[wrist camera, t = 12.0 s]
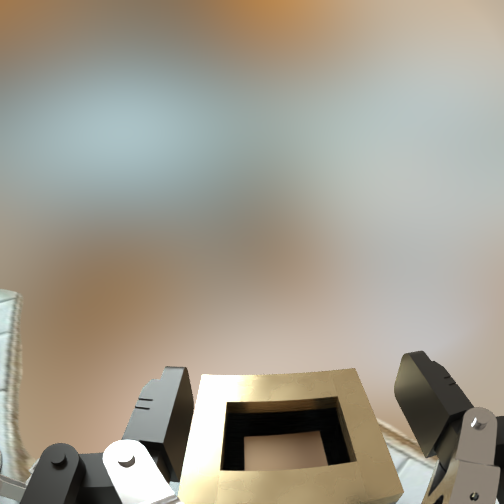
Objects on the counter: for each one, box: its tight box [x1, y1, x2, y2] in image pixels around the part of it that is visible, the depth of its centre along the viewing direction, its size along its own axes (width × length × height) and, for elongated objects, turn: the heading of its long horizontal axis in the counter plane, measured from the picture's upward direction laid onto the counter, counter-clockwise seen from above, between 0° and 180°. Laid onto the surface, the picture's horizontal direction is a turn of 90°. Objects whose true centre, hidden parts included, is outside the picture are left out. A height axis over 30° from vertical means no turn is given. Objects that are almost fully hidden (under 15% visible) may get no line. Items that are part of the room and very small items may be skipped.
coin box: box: [178, 368, 404, 504], centre depth 16 cm, size 10×10×12 cm
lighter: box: [0, 458, 40, 501], centre depth 14 cm, size 7×2×8 cm, turn 168°
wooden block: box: [244, 431, 328, 471], centre depth 16 cm, size 4×3×10 cm, turn 91°
